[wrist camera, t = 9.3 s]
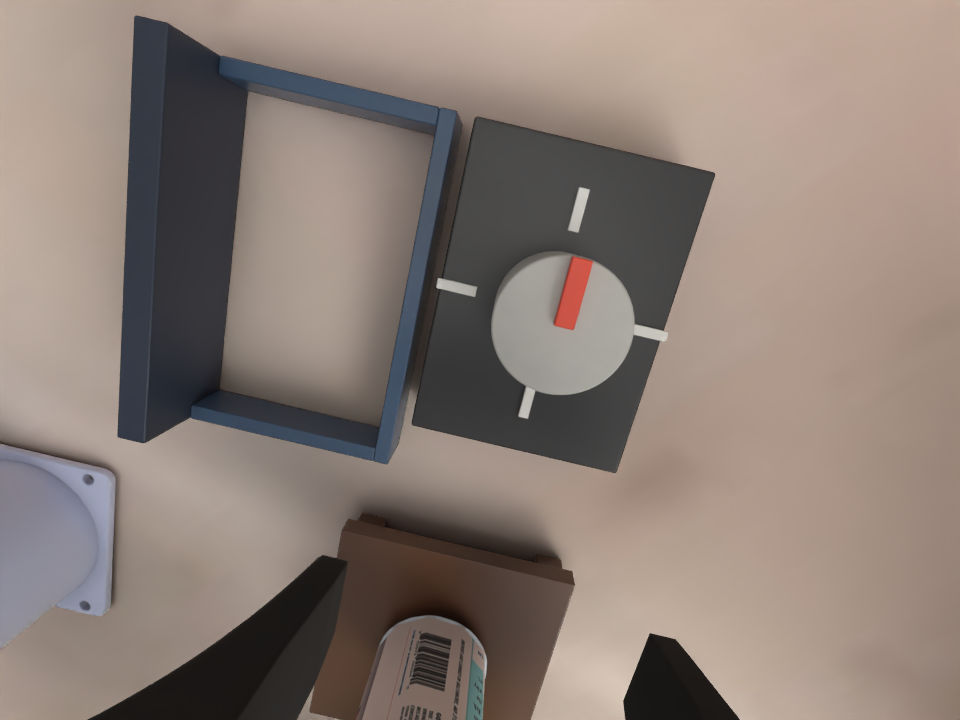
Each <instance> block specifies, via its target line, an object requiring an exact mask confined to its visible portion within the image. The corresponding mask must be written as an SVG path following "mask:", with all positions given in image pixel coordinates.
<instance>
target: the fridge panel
mask: <svg viewBox="0 0 960 720" xmlns="http://www.w3.org/2000/svg"><path fill="white" fill-rule="evenodd" d="M714 177H715V173H714V172H710V171H706V170H702V169H697V168H693V167H689V166H685V165H681V164H676V163H672V162H668V161H664V160H659V159H655V158H651V157H647V156H643V155H638V154H634V153H630V152H626V151H622V150H617V149H613V148H609V147H605V146H600V145H596V144H592V143H588V142H584V141H579V140H575V139H571V138H567V137H563V136H558V135H554V134H550V133H546V132H541V131H537V130H533V129H529V128H525V127H520V126H516V125H512V124H508V123H504V122H499V121H495V120H491V119H487V118H482V117H478V116H477V117H475V119H474V124H473V129H472V134H471V138H470V143H469V148H468V153H467V158H466V163H465V167H464V172H463V177H462V182H461V187H460V192H459V196H458V201H457V206H456V211H455V216H454V221H453V225H452V230H451V235H450V240H449V245H448V250H447V255H446V259H445V264H444V269H443V274H442V278H438V280H437V285H436V288H439V293H438V298H437V303H436V308H435V313H434V317H433V322H432V327H431V332H430V337H429V342H428V347H427V351H426V356H425V361H424V366H423V371H422V376H421V380H420V385H419V390H418V395H417V400H416V405H415V409H414V414H413V419H412V425H414V426H418V427H422V428H426V429H430V430H435V431H439V432H443V433H447V434H452V435H456V436H460V437H464V438H469V439H473V440H477V441H481V442H486V443H490V444H494V445H498V446H502V447H507V448H511V449H515V450H519V451H524V452H528V453H532V454H536V455H541V456H545V457H549V458H553V459H558V460H562V461H566V462H570V463H575V464H579V465H583V466H587V467H591V468H596V469H600V470H604V471H608V472H613V473H616V472H617V469H618V466H619V463H620V460H621V457H622V454H623V451H624V448H625V445H626V442H627V439H628V436H629V433H630V430H631V427H632V424H633V421H634V418H635V415H636V412H637V409H638V406H639V403H640V400H641V397H642V394H643V391H644V388H645V385H646V382H647V379H648V376H649V373H650V370H651V367H652V364H653V361H654V358H655V355H656V352H657V349H658V346H659V343H660V341H663V342H665V341H666V338H667V335H668V332H667V331H664V328H665V325H666V322H667V319H668V316H669V313H670V310H671V307H672V304H673V301H674V298H675V295H676V291H677V288H678V285H679V282H680V279H681V276H682V273H683V270H684V267H685V264H686V261H687V258H688V255H689V252H690V249H691V246H692V243H693V240H694V237H695V234H696V231H697V228H698V225H699V222H700V219H701V216H702V213H703V210H704V207H705V204H706V201H707V198H708V195H709V192H710V189H711V186H712V183H713V180H714ZM547 251H561V252H567V253H571V254H575V255H578V256H582V257H585V258H588V259H591V260H593V261H596V262H598V263H600V264H601V265H603V266H604V267H606V268H608V269H609V270H610V271H611V272H612V273H613V274H615V276H616V277H617V278H618V279H619V280H620V281H621V283H622V284H623V286H624V287H625V289H626V290H627V293H628V295H629V297H630V299H631V303H632V306H633V311H634V322H635V326H634V335H633V339H632V343H631V346H630V349H629V351H628V353H627V355H626V357H625V359H624V361H623V362H622V363H621V365H620V366H619V367H618V369H617V370H616V371H615V372H614V373H613V374H612V375H611V376H610V377H608V378H607V379H606V380H605V381H603V382H602V383H600V384H599V385H597V386H595V387H593V388H591V389H589V390H586V391H583V392H580V393H575V394H569V395H552V394H546V393H542V392H539V391H535V390H533V389H531V388H529V387H527V386H525V385H523V384H522V383H520V382H519V381H518V380H516V379H515V378H514V377H513V376H512V375H511V374H510V373H509V372H508V371H507V370H506V369H505V367H504V366H503V365H502V363H501V361H500V359H499V358H498V356H497V353H496V351H495V348H494V345H493V340H492V333H491V319H492V313H493V308H494V303H495V298H496V295H497V291H498V289H499V286H500V284H501V282H502V281H503V279H504V277H505V276H506V275H507V273H508V272H509V271H510V270H511V269H512V268H513V267H514V266H515V265H516V264H518V263H519V262H520V261H522V260H523V259H525V258H527V257H529V256H531V255H534V254H537V253H541V252H547Z"/></svg>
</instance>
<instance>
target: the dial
mask: <svg viewBox="0 0 960 720" xmlns="http://www.w3.org/2000/svg"><path fill="white" fill-rule="evenodd" d="M634 326H635V322H634V311H633V306H632V303H631V299H630V297H629V295H628V293H627V290H626V289H625V287H624V286H623V284H622V283H621V281H620V280H619V279H618V278H617V277H616V276H615V274H613V273H612V272H611V271H610V270H609V269H608V268H606V267H604V266H603V265H601V264H600V263H598V262H596V261H593V260H591V259H588V258H585V257H582V256H578V255H575V254H571V253H567V252H561V251H547V252H541V253H537V254H534V255H531V256H529V257H527V258H525V259H523V260H522V261H520V262H519V263H518V264H516V265H515V266H514V267H513V268H512V269H511V270H510V271H509V272H508V273H507V275H506V276H505V277H504V279H503V281H502V282H501V284H500V286H499V289H498V291H497V295H496V298H495V303H494V308H493V313H492V319H491V333H492V340H493V345H494V348H495V351H496V353H497V356H498V358H499V359H500V361H501V363H502V365H503V366H504V367H505V369H506V370H507V371H508V372H509V373H510V374H511V375H512V376H513V377H514V378H515V379H516V380H518V381H519V382H520V383H522V384H523V385H525V386H527V387H529V388H531V389H533V390H535V391H539V392H542V393H546V394H552V395H569V394H575V393H580V392H583V391H586V390H589V389H591V388H593V387H595V386H597V385H599V384H600V383H602V382H603V381H605V380H606V379H607V378H608V377H610V376H611V375H612V374H613V373H614V372H615V371H616V370H617V369H618V367H619V366H620V365H621V363H622V362H623V361H624V359H625V357H626V355H627V353H628V351H629V349H630V346H631V343H632V339H633V335H634Z"/></svg>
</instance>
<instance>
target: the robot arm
mask: <svg viewBox="0 0 960 720" xmlns="http://www.w3.org/2000/svg"><path fill="white" fill-rule="evenodd" d="M90 475H91V476H92V477H93V479H94V480H93V479H92V478H91V477H90ZM115 486H116V480H115V476H114V474H113V473H112V472H111V471H110V470H107V469H105V468H101V467H96V466H92V465H88V464H84V463H79V462H75V461H71V460H67V459H62V458H58V457H54V456H50V455H45V454H41V453H37V452H33V451H28V450H24V449H20V448H16V447H11V446H7V445H3V444H0V649H2V648H3V647H4V646H5V645H7V644H8V643H9V642H10V641H12V640H13V639H14V638H15V637H16V636H18V635H19V634H20V633H21V632H23V631H24V630H25V629H26V628H27V627H29V626H30V625H31V624H32V623H34V622H35V621H36V620H37V619H39V618H40V617H41V616H42V615H43V614H45V613H46V612H47V611H48V610H50V609H51V608H52V607H53V606H56V607H60V608H64V609H69V610H73V611H77V612H81V613H86V614H90V615H94V616H101V615H103V614H104V613H105V612H106V611H108V610H109V609H110V606H111V586H112V561H113V536H114V511H115ZM347 566H348V561H345V560H341V559H337V558H333V557H328V556H324V555H322V556H321V557H319V558H317V559H316V560H315V561H314V562H313V563H312V564H311V565H310V566H309V567H308V568H307V569H306V570H305V571H304V572H302V573H301V574H300V575H299V576H298V577H297V578H296V579H295V580H294V581H293V582H291V583H290V584H289V585H288V586H287V587H286V588H285V589H283V590H282V591H281V592H280V593H279V594H278V595H276V596H275V597H274V598H273V599H272V600H270V601H269V602H268V603H267V604H265V605H264V606H263V607H262V608H261V609H259V610H258V611H257V612H256V613H254V614H253V615H252V616H251V617H249V618H248V619H247V620H246V621H244V622H243V623H241V624H240V625H239V626H237V627H236V628H235V629H233V630H232V631H231V632H229V633H228V634H227V635H225V636H224V637H223V638H221V639H220V640H219V641H217V642H216V643H214V644H213V645H212V646H210V647H209V648H207V649H206V650H204V651H203V652H201V653H200V654H199V655H197V656H196V657H194V658H193V659H191V660H190V661H188V662H187V663H185V664H183V665H182V666H180V667H179V668H177V669H176V670H174V671H172V672H171V673H169V674H168V675H166V676H164V677H163V678H161V679H159V680H158V681H156V682H154V683H153V684H151V685H149V686H148V687H146V688H144V689H142V690H141V691H139V692H137V693H136V694H134V695H132V696H130V697H129V698H127V699H125V700H123V701H122V702H120V703H118V704H116V705H114V706H113V707H111V708H109V709H107V710H105V711H103V712H102V713H100V714H98V715H96V716H94V717H92V718H90V719H88V720H297V718H298V716H299V714H300V712H301V710H302V708H303V706H304V704H305V702H306V700H307V698H308V696H309V694H310V692H311V690H312V688H313V686H314V684H315V682H316V680H317V678H318V675H319V672H320V670H321V667H322V665H323V662H324V660H325V657H326V655H327V652H328V649H329V647H330V644H331V641H332V639H333V636H334V633H335V629H336V624H337V619H338V613H339V608H340V603H341V598H342V592H343V587H344V582H345V576H346V571H347ZM623 702H624V711H625V720H740V719H739V718H738V717H737V715H736V714H735V713H734V712H733V710H732V709H731V708H730V707H729V705H728V704H727V703H726V702H725V700H724V699H723V698H722V697H721V695H720V694H719V693H718V692H717V690H716V689H715V688H714V687H713V685H712V684H711V683H710V681H709V680H708V679H707V678H706V676H705V675H704V674H703V673H702V671H701V670H700V669H699V667H698V666H697V665H696V664H695V662H694V661H693V660H692V659H691V657H690V656H689V655H688V654H687V652H686V651H685V650H684V649H683V648H682V646H681V645H680V644H679V643H678V642H677V641H676V639H672V638H667V637H663V636H659V635H655V634H651V633H650V634H649V637H648V639H647V642H646V645H645V647H644V650H643V652H642V655H641V657H640V660H639V662H638V665H637V668H636V670H635V673H634V675H633V678H632V680H631V683H630V685H629V688H628V690H627V693H626V696H625V698H624V701H623Z"/></svg>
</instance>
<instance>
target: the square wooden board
mask: <svg viewBox="0 0 960 720" xmlns="http://www.w3.org/2000/svg"><path fill="white" fill-rule="evenodd" d="M385 524H386V518H383V517H378V516H374V515H370V514H366V513H361V515H360V517H359V518H358V520H352V519H348V521H347V522H346V524H345V526H344V528H343V529H342V533H341V538H340V544H339V550H338V555H337V559H341V560H345V561H348V566H347V571H346V576H345V582H344V587H343V592H342V598H341V603H340V608H339V613H338V619H337V624H336V629H335V633H334V636H333V639H332V641H331V644H330V647H329V649H328V652H327V655H326V657H325V660H324V662H323V665H322V667H321V670H320V672H319V675H318V678H317V680H316V682H315V685H314V690H313V696H312V702H311V707H310V712H311V713H316V714H320V715H324V716H328V717H333V718H337V719H341V720H355V719H356V716H357V713H358V709H359V706H360V703H361V700H362V697H363V694H364V691H365V687H366V684H367V681H368V678H369V675H370V672H371V669H372V665H373V662H374V659H375V656H376V653H377V650H378V647H379V644H380V642H381V641H382V639H383V637H384V635H385V634H386V633H387V632H388V631H389V630H390V629H391V628H392V627H393V626H395V625H396V624H397V623H399V622H402V621H404V620H406V619H408V618H411V617H418V616H425V615H433V616H441V617H444V618H447V619H450V620H453V621H456V622H458V623H460V624H462V625H463V626H465V627H466V628H467V629H469V630H470V631H471V632H472V633H473V634H474V635H475V636H476V637H477V639H478V640H479V642H480V643H481V644H482V646H483V649H484V652H485V655H486V658H487V671H486V677H485V684H484V702H483V720H531V717H532V714H533V711H534V708H535V705H536V702H537V699H538V696H539V693H540V690H541V687H542V683H543V680H544V677H545V674H546V671H547V668H548V665H549V662H550V659H551V656H552V653H553V650H554V647H555V644H556V641H557V638H558V635H559V632H560V629H561V626H562V623H563V620H564V617H565V614H566V611H567V608H568V605H569V602H570V598H571V595H572V592H573V589H574V586H575V583H574V578H573V573H572V571H569V570H565V569H562V564H561V560H560V559H556V558H552V557H548V556H544V555H540V554H536V556H535V559H534V562H531V561H526V560H522V559H518V558H514V557H509V556H505V555H501V554H497V553H492V552H488V551H484V550H480V549H475V548H471V547H467V546H463V545H459V544H454V543H450V542H446V541H442V540H437V539H433V538H429V537H425V536H420V535H416V534H412V533H408V532H403V531H399V530H395V529H391V528H386V527H385Z"/></svg>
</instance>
